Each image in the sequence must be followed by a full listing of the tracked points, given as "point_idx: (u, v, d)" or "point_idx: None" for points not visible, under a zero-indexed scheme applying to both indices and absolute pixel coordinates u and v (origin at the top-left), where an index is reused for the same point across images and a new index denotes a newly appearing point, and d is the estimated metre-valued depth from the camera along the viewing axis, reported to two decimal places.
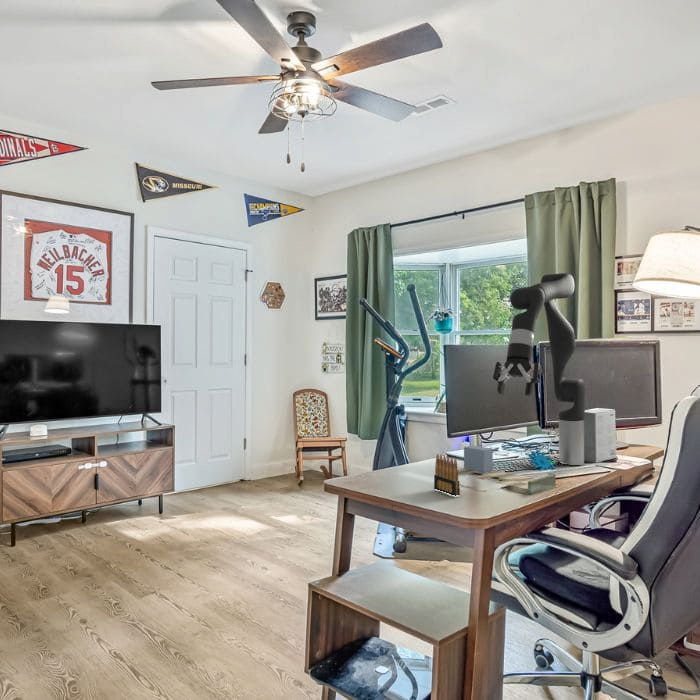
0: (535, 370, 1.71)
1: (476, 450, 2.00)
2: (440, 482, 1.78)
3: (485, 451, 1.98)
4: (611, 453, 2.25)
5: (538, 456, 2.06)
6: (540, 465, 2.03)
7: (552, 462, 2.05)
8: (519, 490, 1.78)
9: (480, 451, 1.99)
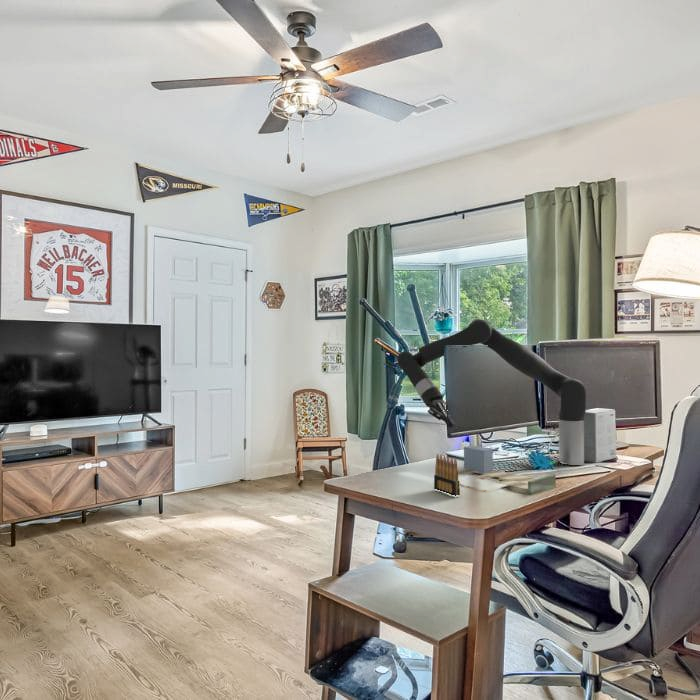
0: None
1: (476, 450, 2.00)
2: (440, 482, 1.78)
3: (485, 451, 1.98)
4: (611, 453, 2.25)
5: (538, 456, 2.06)
6: (539, 465, 2.03)
7: (552, 462, 2.06)
8: (519, 490, 1.78)
9: (480, 451, 1.99)
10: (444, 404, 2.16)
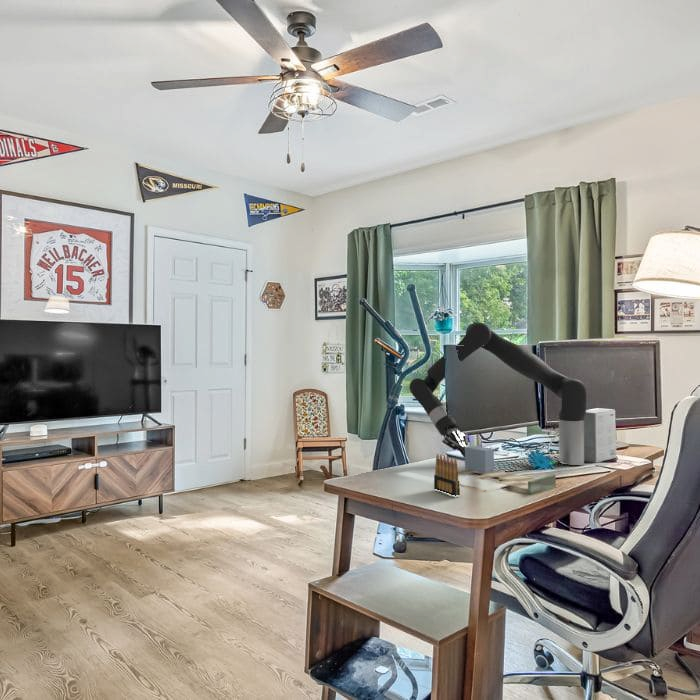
0: None
1: (477, 450, 2.00)
2: (440, 482, 1.78)
3: (486, 451, 1.98)
4: (611, 453, 2.25)
5: (537, 456, 2.06)
6: (538, 465, 2.03)
7: (552, 462, 2.06)
8: (519, 490, 1.78)
9: (481, 451, 1.98)
10: (459, 433, 2.11)
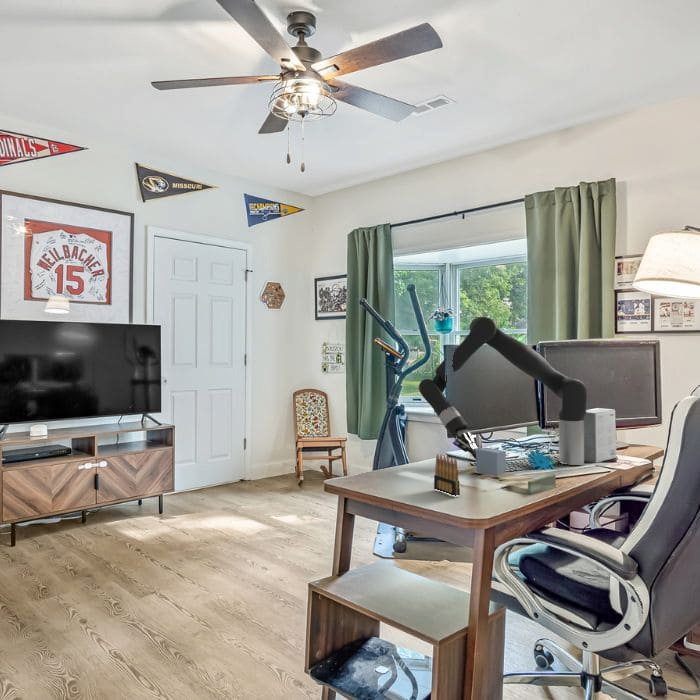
0: None
1: (489, 452, 1.96)
2: (440, 482, 1.78)
3: (498, 453, 1.94)
4: (611, 453, 2.25)
5: (537, 456, 2.06)
6: (538, 464, 2.03)
7: (551, 462, 2.06)
8: (519, 490, 1.78)
9: (493, 453, 1.94)
10: (470, 434, 2.07)
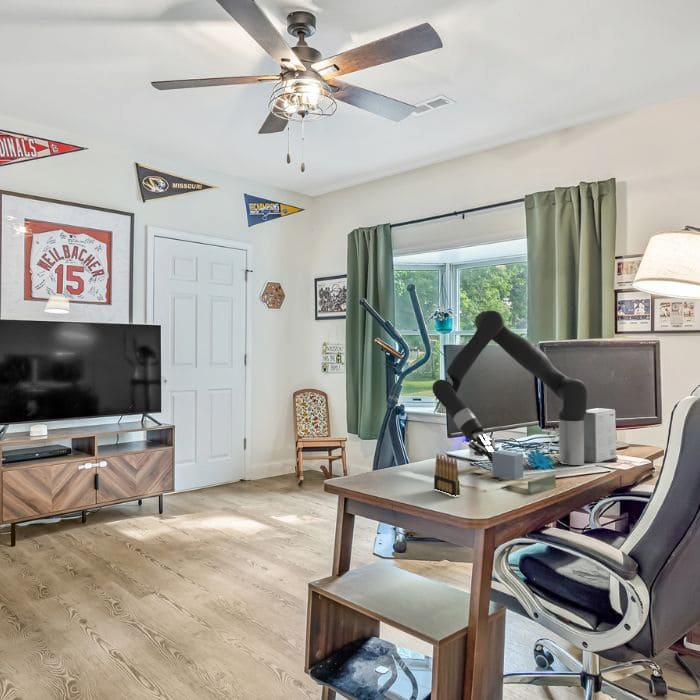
0: None
1: (506, 455, 1.90)
2: (440, 482, 1.78)
3: (516, 457, 1.88)
4: (611, 453, 2.25)
5: (537, 455, 2.07)
6: (538, 464, 2.04)
7: (551, 462, 2.06)
8: (519, 490, 1.78)
9: (510, 456, 1.89)
10: (485, 437, 2.02)
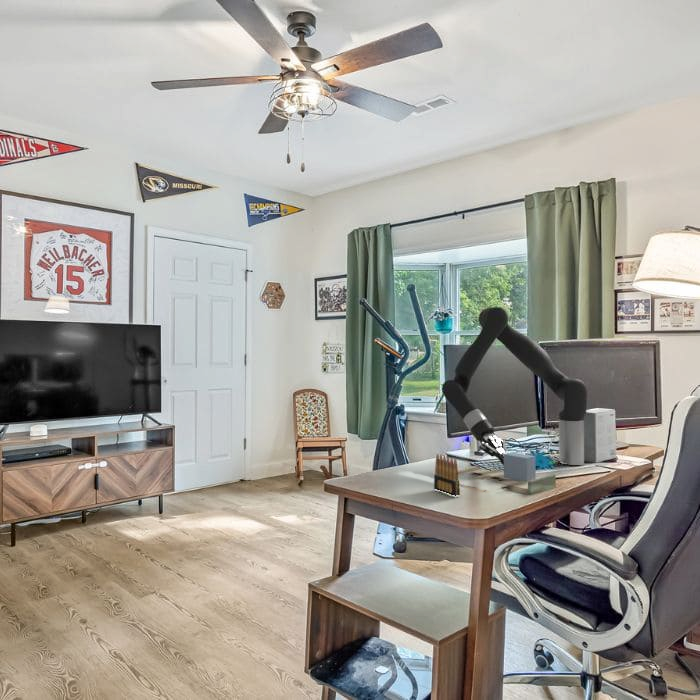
0: None
1: (518, 458, 1.86)
2: (440, 482, 1.78)
3: (528, 459, 1.84)
4: (611, 453, 2.25)
5: (537, 455, 2.07)
6: (538, 464, 2.04)
7: (551, 462, 2.06)
8: (519, 490, 1.78)
9: (522, 459, 1.85)
10: (496, 438, 1.98)
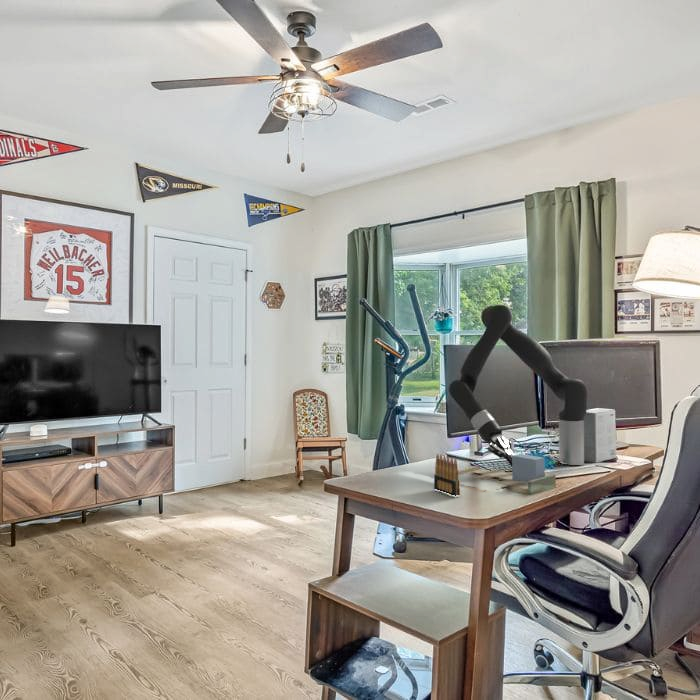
0: None
1: (527, 459, 1.84)
2: (440, 482, 1.78)
3: (537, 460, 1.82)
4: (611, 453, 2.25)
5: (537, 455, 2.07)
6: None
7: (551, 462, 2.06)
8: (519, 490, 1.78)
9: (531, 460, 1.82)
10: (505, 440, 1.95)
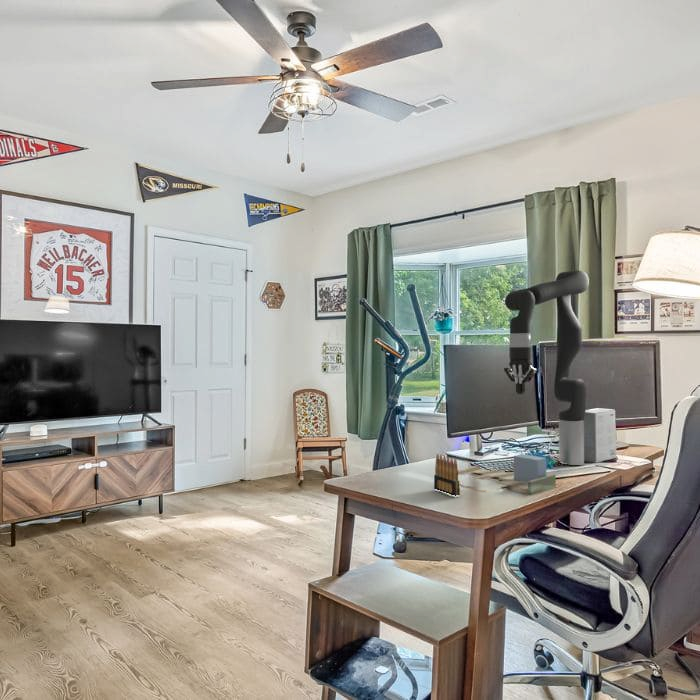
0: (528, 374, 1.98)
1: (528, 459, 1.83)
2: (440, 482, 1.78)
3: (539, 461, 1.81)
4: (611, 453, 2.25)
5: (536, 455, 2.07)
6: None
7: (551, 462, 2.06)
8: (519, 490, 1.78)
9: (533, 461, 1.82)
10: None
